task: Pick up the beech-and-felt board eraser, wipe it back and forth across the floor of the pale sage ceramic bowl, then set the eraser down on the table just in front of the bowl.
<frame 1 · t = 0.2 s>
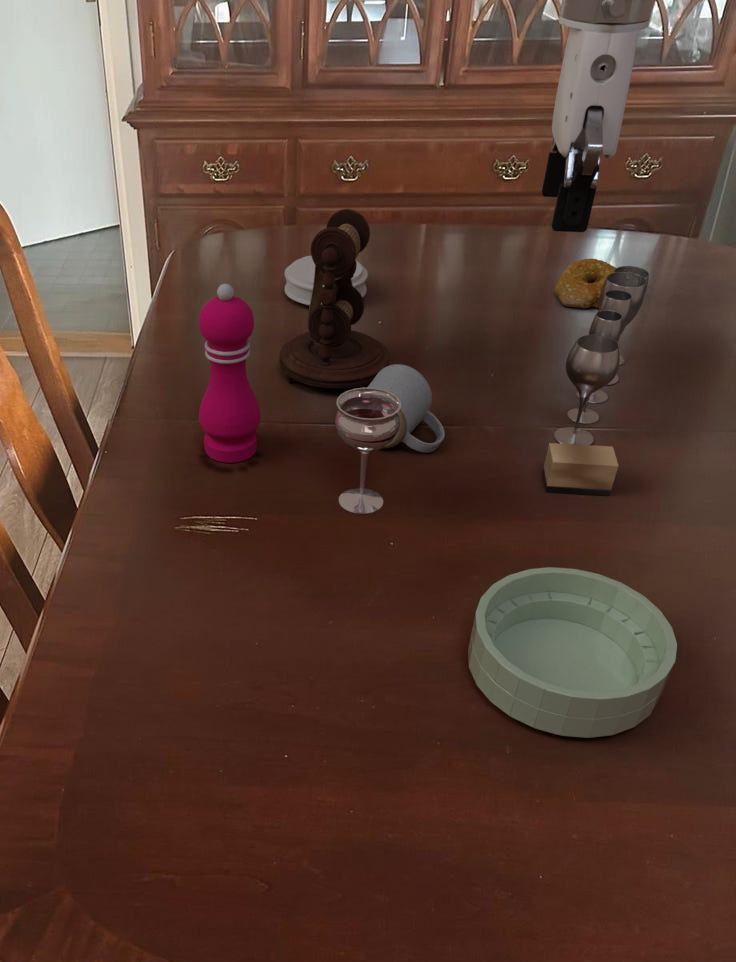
hand: (562, 212, 91), 27 cm above the table, tool pointing down, fingers open, 9 cm apart
pepper mill: (230, 450, 111), on the table
goblet set: (591, 398, 120), on the table
ceramic mug: (398, 438, 113), on the table
bagel: (586, 300, 142), on the table
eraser: (575, 484, 105), on the table
wineglass: (360, 502, 103), on the table
bowl: (560, 673, 83), on the table
dark brown wooden stand: (333, 373, 125), on the table
lid: (325, 296, 144), on the table
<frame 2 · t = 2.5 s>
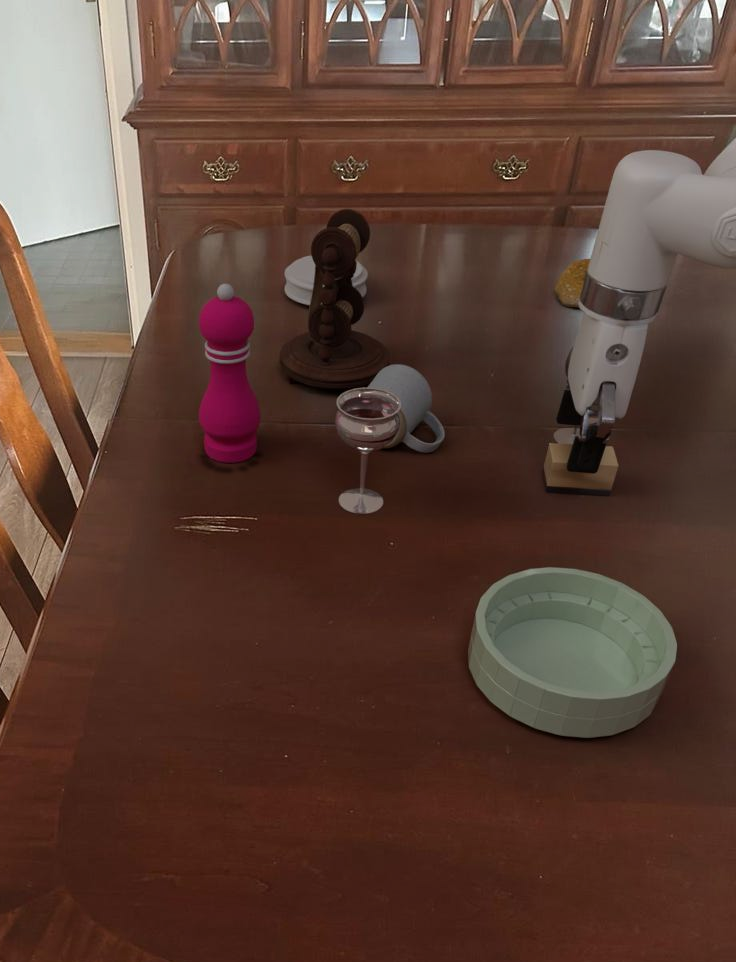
hand: (575, 446, 102), 5 cm above the table, tool pointing down, fingers open, 9 cm apart
goblet set: (590, 399, 120), on the table, touching gripper
everything else where it was.
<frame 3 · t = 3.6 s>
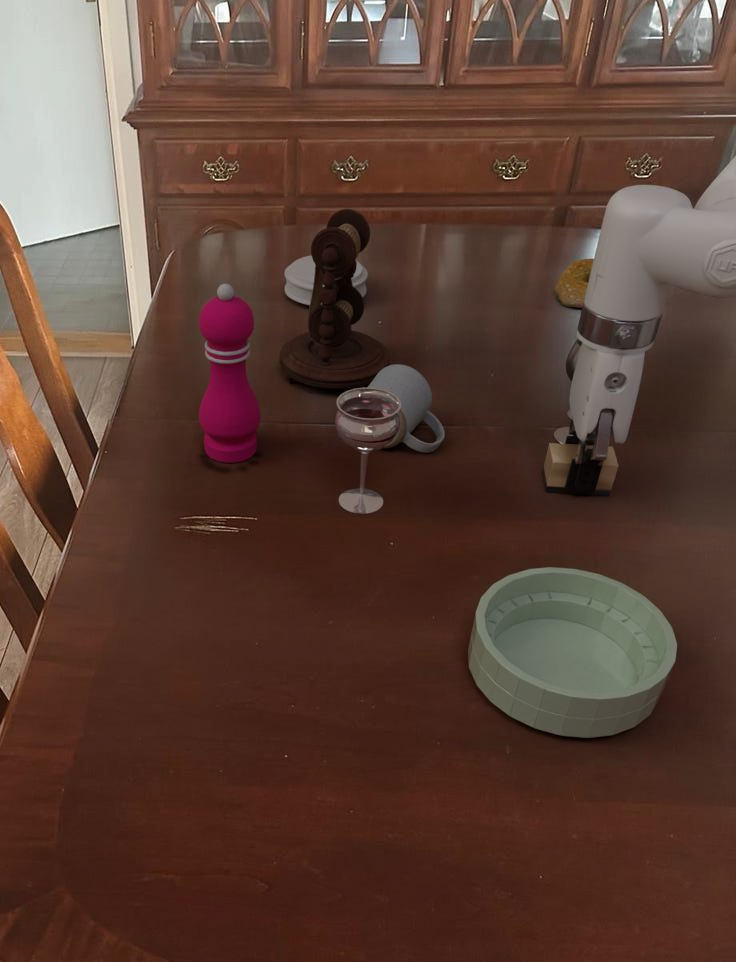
hand: (576, 478, 104), 1 cm above the table, tool pointing down, fingers closed on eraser, 4 cm apart
goblet set: (591, 398, 120), on the table
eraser: (575, 484, 105), on the table, touching gripper
everything else where it was.
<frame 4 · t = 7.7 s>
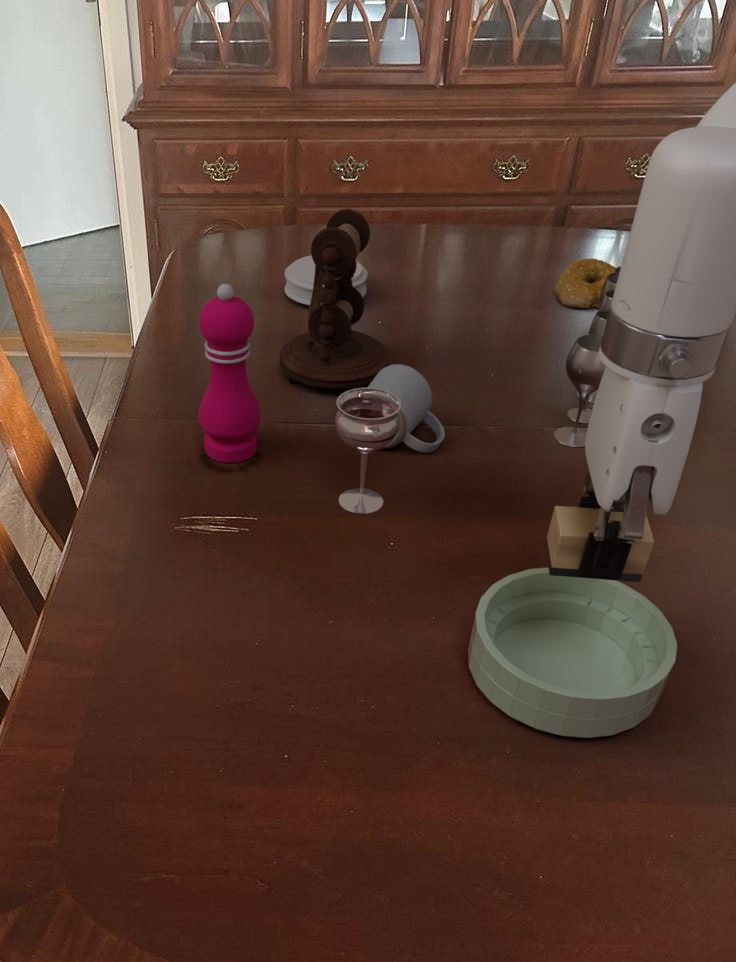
hand: (594, 555, 74), 13 cm above the table, tool pointing down, fingers closed on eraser, 4 cm apart
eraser: (591, 563, 74), point 12 cm above the table, touching gripper
everything else where it was.
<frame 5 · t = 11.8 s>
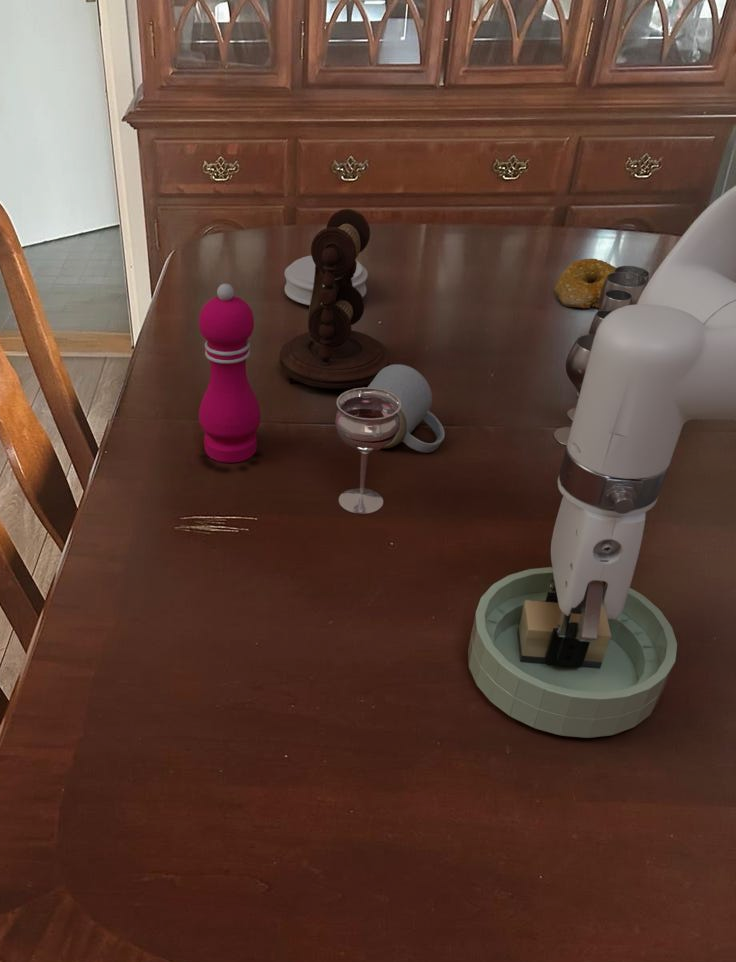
hand: (560, 644, 83), 2 cm above the table, tool pointing down, fingers closed on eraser, 4 cm apart
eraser: (557, 650, 84), point 1 cm above the table, touching gripper
everything else where it was.
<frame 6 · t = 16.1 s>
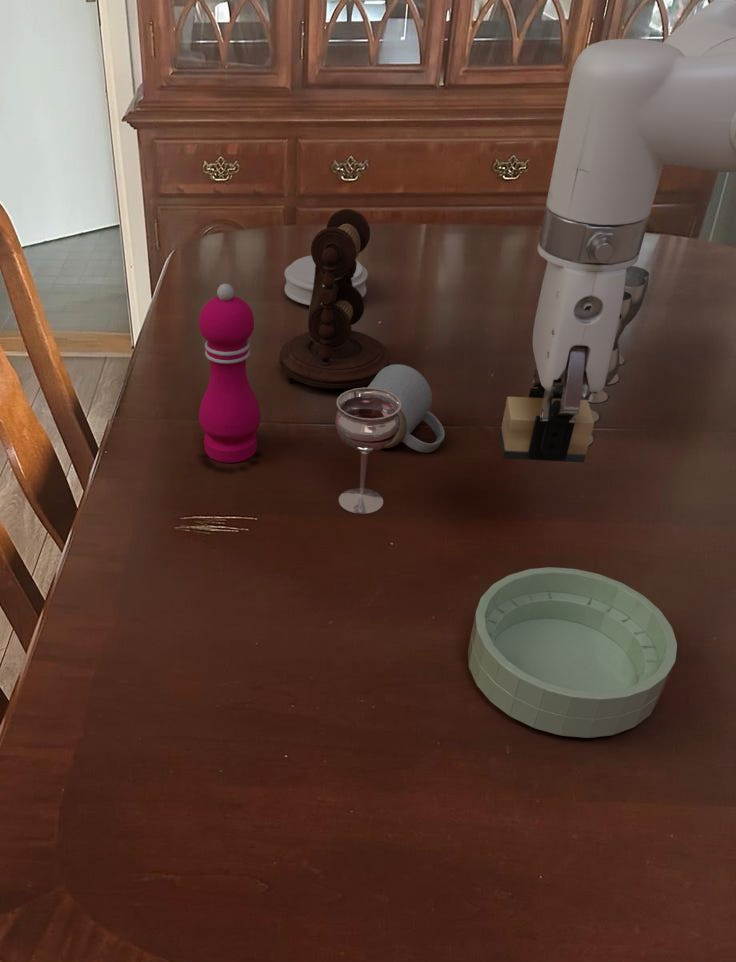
hand: (543, 442, 83), 15 cm above the table, tool pointing down, fingers closed on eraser, 4 cm apart
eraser: (540, 448, 83), point 15 cm above the table, touching gripper
everything else where it was.
when the fingers open (1 cm above the table, at t = 20.0 s): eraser stays where it is, on the table.
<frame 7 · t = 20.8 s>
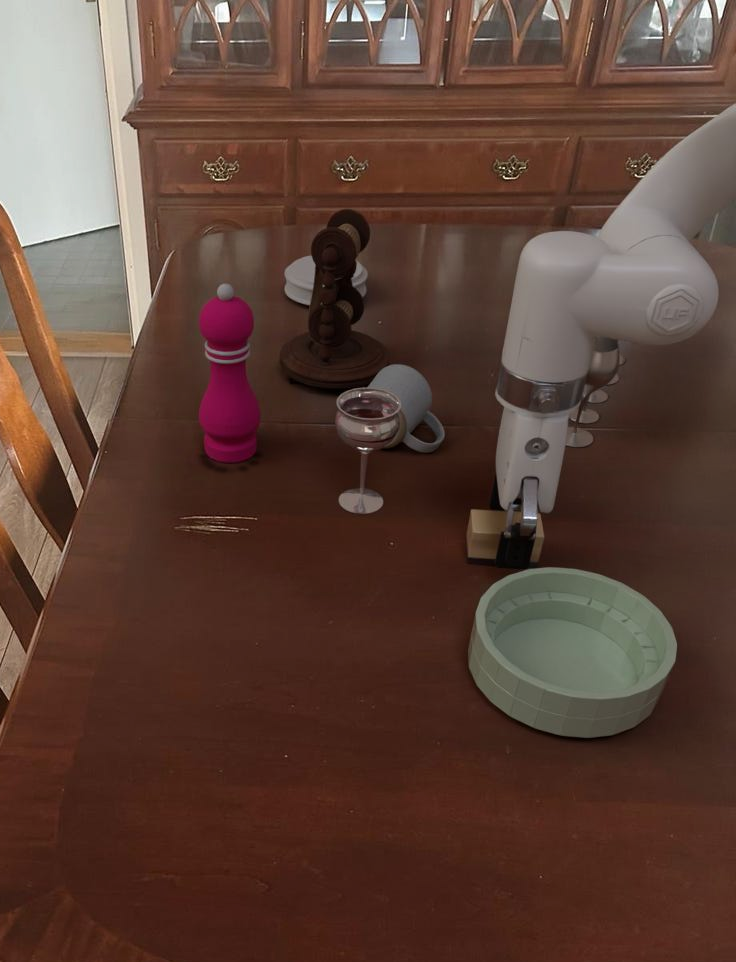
hand: (507, 537, 94), 2 cm above the table, tool pointing down, fingers open, 9 cm apart
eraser: (500, 554, 96), on the table
everything else where it was.
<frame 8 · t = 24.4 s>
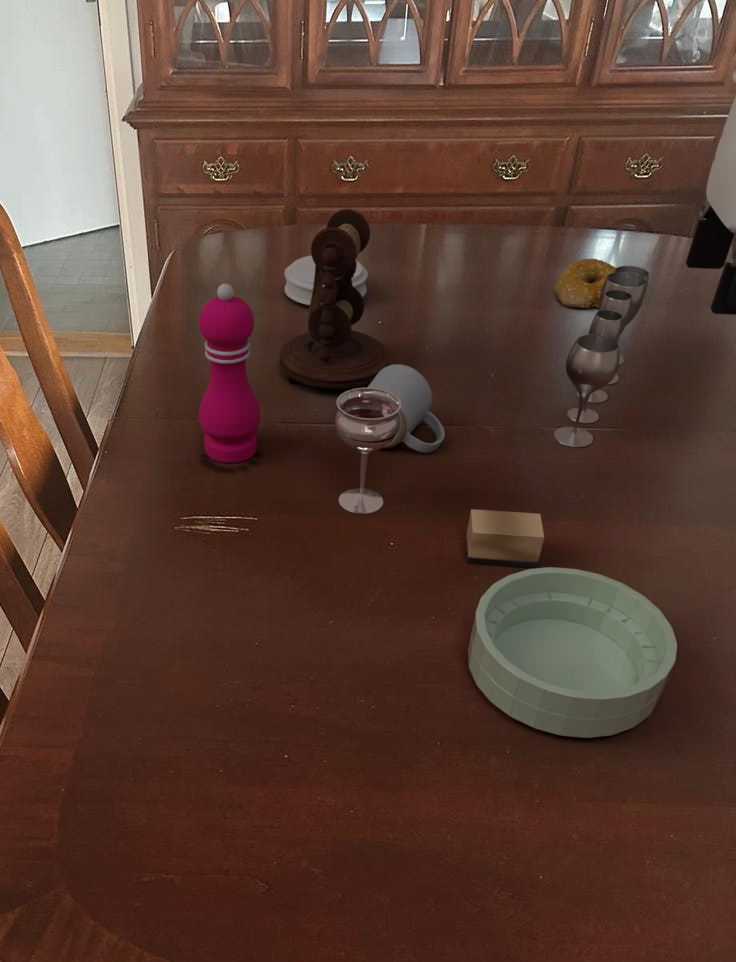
hand: (716, 289, 80), 26 cm above the table, tool pointing down, fingers open, 9 cm apart
nothing on the table moved.
at the end: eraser inside the target area on the table beside the bowl (0.2 cm from its centre), on the table; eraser tilted 0°; the gripper is holding nothing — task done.
